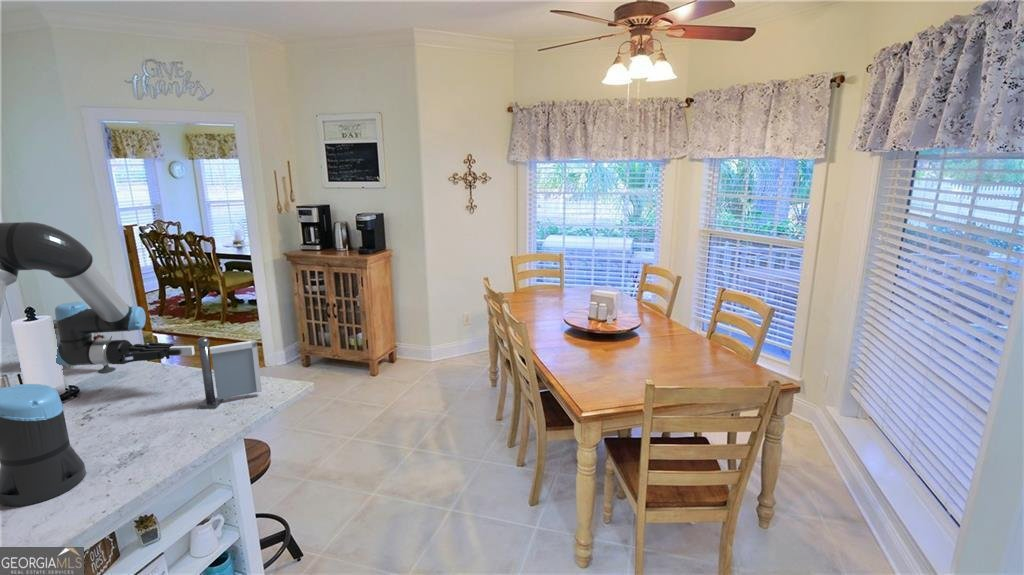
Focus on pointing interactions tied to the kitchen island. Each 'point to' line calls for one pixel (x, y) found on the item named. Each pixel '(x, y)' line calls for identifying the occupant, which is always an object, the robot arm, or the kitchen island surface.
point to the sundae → (107, 368)
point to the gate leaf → (236, 369)
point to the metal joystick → (207, 376)
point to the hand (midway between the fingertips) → (193, 350)
